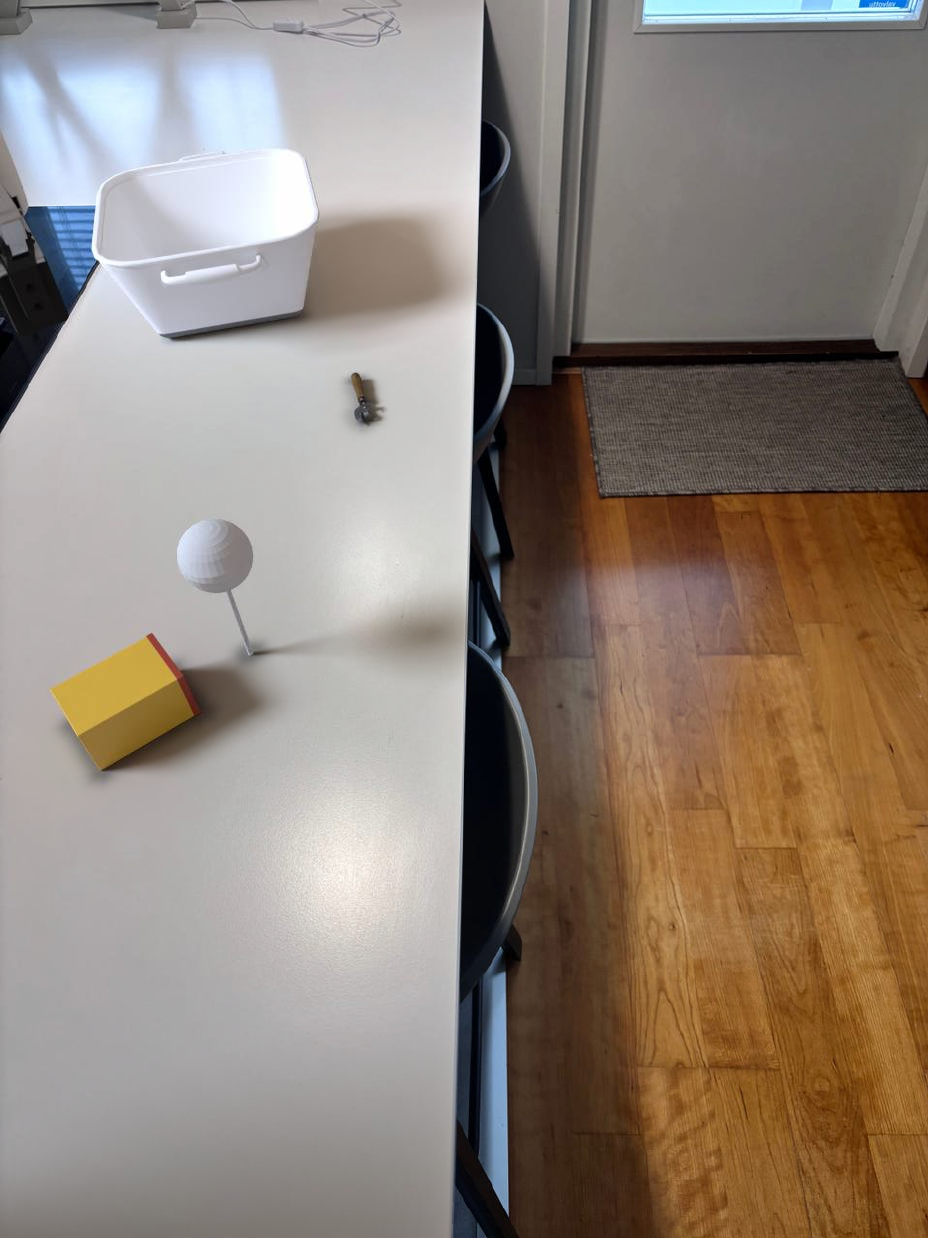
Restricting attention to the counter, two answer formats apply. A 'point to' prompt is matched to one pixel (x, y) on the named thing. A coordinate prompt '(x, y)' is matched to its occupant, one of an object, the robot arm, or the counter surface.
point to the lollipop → (216, 561)
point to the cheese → (126, 701)
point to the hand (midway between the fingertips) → (17, 296)
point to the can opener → (360, 398)
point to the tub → (210, 238)
